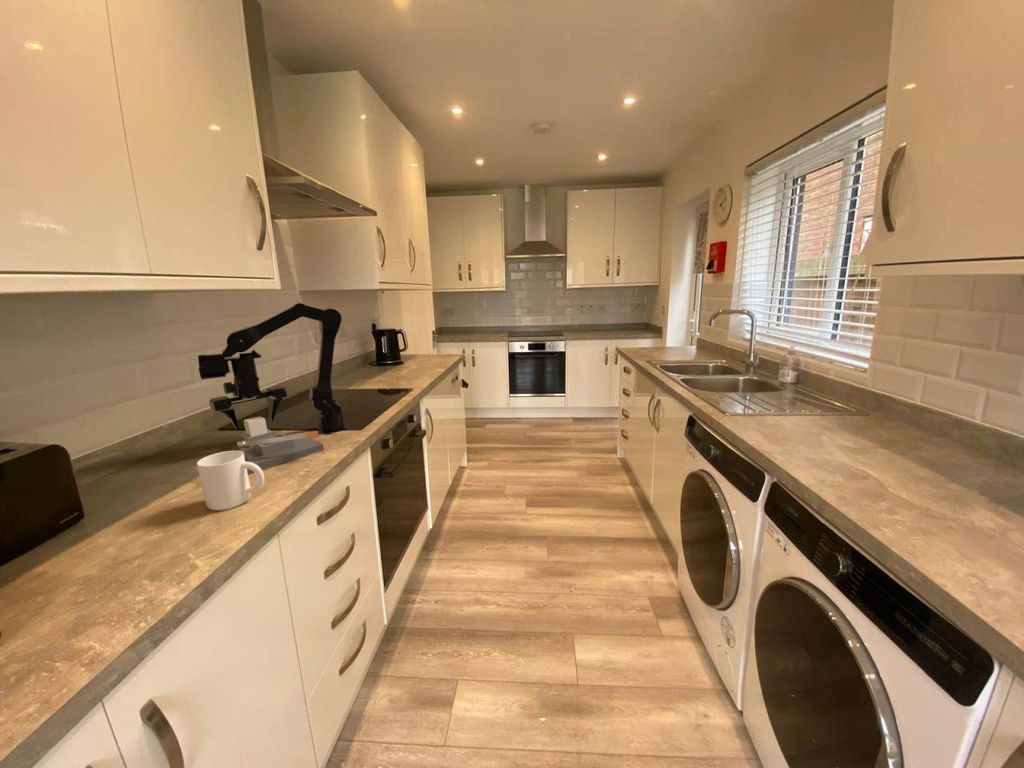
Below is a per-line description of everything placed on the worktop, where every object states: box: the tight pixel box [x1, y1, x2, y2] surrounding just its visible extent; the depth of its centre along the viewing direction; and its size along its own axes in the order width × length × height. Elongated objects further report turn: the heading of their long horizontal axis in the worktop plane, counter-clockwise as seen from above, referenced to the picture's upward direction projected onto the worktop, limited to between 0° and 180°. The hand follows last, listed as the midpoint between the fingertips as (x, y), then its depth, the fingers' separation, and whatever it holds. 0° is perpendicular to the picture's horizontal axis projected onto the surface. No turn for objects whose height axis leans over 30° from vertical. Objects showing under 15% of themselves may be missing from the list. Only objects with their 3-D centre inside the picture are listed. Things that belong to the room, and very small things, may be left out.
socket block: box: [237, 432, 325, 476], centre depth 113 cm, size 20×15×6 cm
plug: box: [240, 415, 275, 447], centre depth 122 cm, size 7×7×8 cm
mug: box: [196, 450, 265, 512], centre depth 88 cm, size 12×8×10 cm
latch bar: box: [236, 430, 319, 448], centre depth 108 cm, size 19×2×1 cm, turn 110°
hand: (255, 425), depth 122 cm, fingers open, 9 cm apart
